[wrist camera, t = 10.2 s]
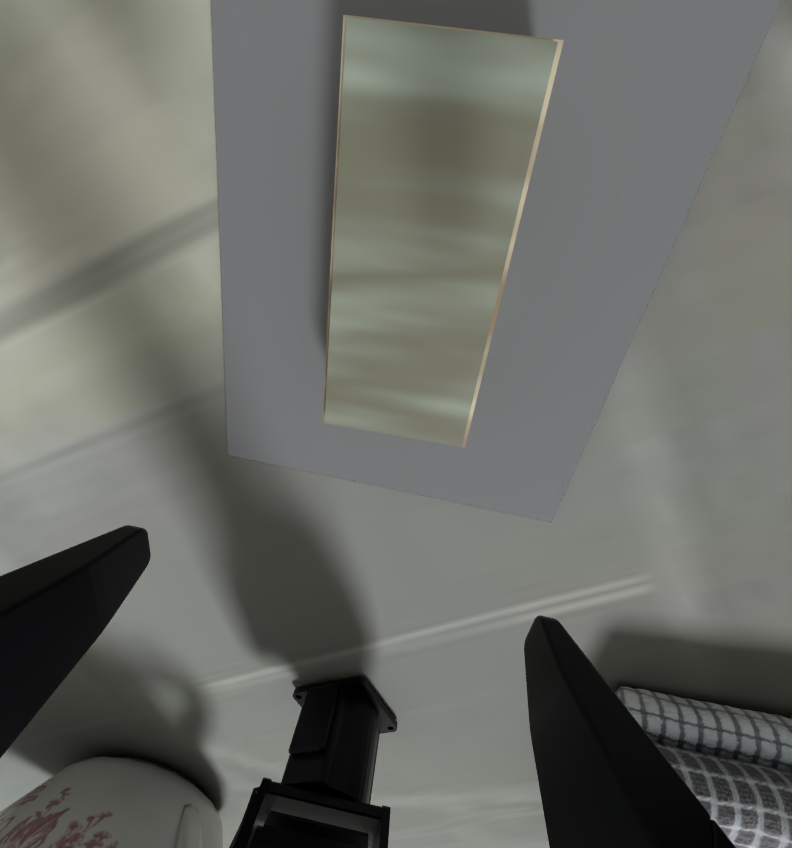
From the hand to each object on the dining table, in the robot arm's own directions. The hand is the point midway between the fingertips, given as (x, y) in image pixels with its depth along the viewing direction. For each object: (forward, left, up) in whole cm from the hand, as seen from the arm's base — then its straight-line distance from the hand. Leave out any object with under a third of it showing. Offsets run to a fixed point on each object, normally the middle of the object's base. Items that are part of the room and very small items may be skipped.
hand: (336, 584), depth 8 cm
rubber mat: (+5, -4, -12) cm, 13 cm away
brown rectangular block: (0, 0, -9) cm, 9 cm away
